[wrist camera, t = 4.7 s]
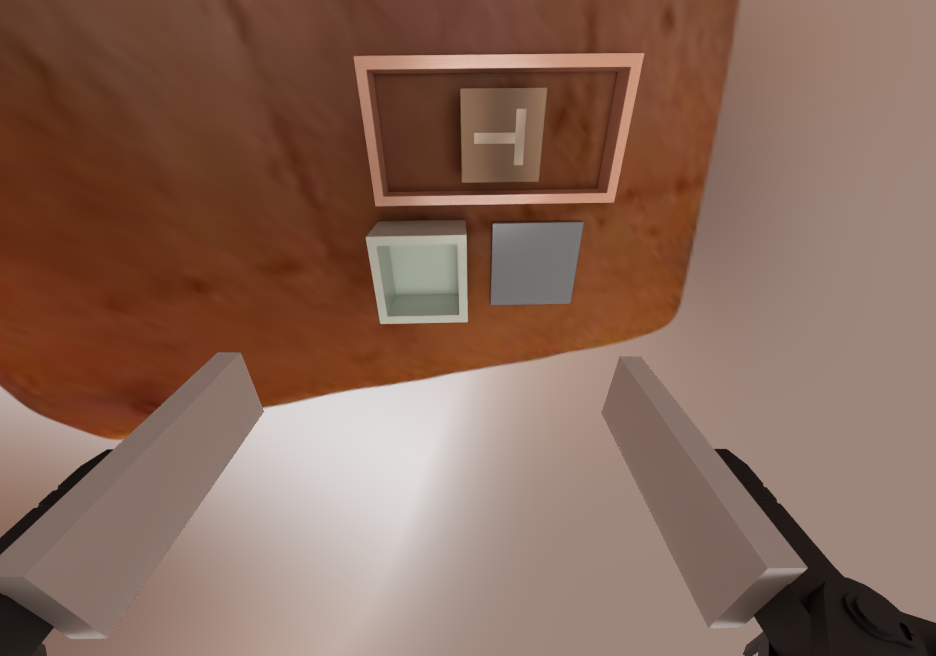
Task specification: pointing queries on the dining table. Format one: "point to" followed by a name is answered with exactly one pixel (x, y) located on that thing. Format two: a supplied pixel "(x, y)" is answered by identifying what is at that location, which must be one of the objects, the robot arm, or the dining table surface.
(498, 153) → the letter cube
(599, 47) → the dining table surface
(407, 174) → the dining table surface
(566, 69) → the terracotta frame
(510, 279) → the slate coaster
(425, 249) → the mint green open box
